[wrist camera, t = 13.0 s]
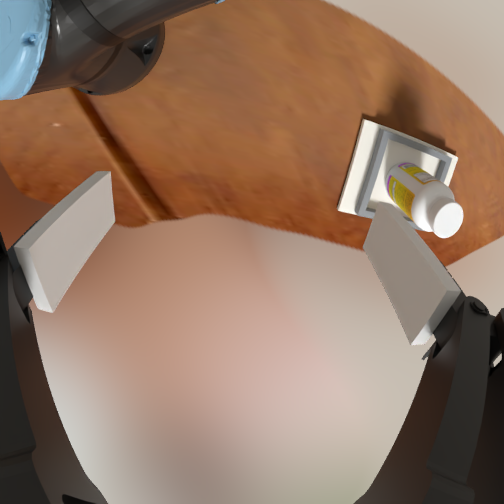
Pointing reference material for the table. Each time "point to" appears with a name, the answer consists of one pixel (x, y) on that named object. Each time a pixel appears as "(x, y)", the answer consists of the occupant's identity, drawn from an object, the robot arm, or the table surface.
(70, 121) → the table surface
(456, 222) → the supplement bottle
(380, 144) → the board
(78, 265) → the robot arm
